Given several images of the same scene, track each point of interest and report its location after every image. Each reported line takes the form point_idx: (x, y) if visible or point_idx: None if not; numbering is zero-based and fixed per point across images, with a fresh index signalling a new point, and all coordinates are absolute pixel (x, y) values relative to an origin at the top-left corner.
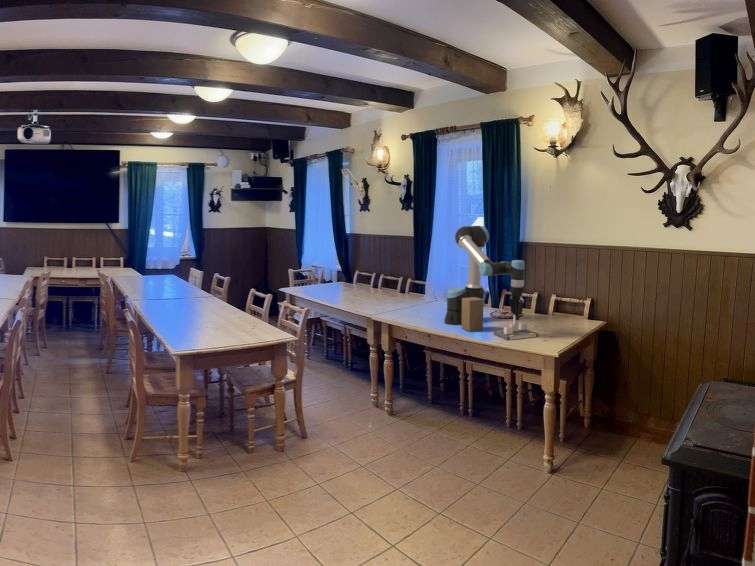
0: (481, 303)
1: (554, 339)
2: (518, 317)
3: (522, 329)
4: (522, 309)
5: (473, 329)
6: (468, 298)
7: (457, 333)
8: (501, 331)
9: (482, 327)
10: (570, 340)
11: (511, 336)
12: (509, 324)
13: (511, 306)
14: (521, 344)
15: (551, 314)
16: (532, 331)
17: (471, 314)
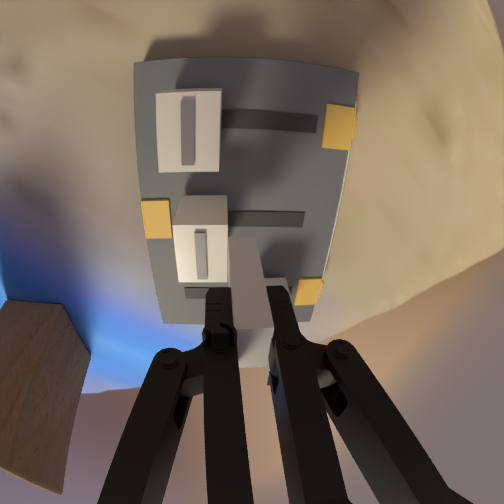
0: (22, 453)
1: (444, 51)
2: (291, 315)
3: (220, 142)
4: (390, 401)
5: (81, 351)
6: (3, 470)
7: (112, 387)
8: (171, 287)
9: (59, 319)
10: (484, 12)
11: (316, 298)
12: (181, 280)
13: (170, 458)
14: (401, 283)
15: None
16: (276, 64)
17: (68, 426)
